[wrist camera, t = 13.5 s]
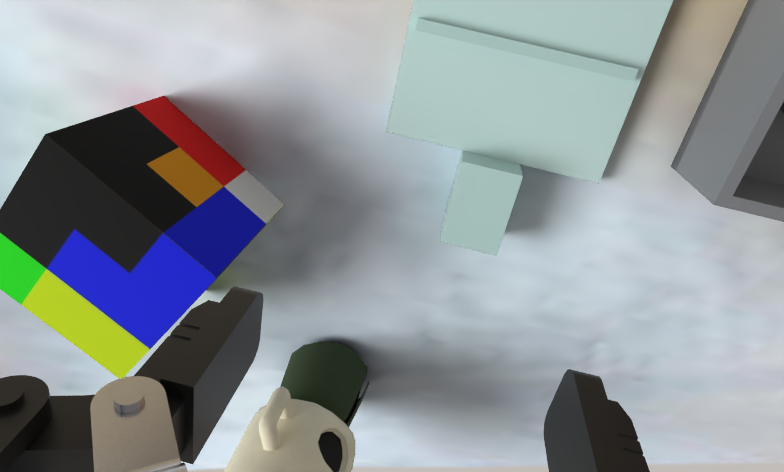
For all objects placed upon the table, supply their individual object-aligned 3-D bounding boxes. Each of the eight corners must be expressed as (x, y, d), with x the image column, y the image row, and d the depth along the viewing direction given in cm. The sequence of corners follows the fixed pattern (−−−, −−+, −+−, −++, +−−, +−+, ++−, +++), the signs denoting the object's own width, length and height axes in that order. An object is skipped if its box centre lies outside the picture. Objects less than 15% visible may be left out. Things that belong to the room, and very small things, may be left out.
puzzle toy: (284, 204, 35) (217, 278, 26) (204, 290, 39) (121, 379, 30) (164, 95, 33) (45, 134, 24) (92, 197, 37) (-33, 264, 28)
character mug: (383, 424, 41) (345, 594, 30) (298, 421, 43) (230, 582, 31) (368, 308, 37) (317, 454, 25) (273, 308, 38) (183, 446, 27)
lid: (471, -276, 23) (470, -315, 20) (754, -219, 23) (794, -250, 20) (373, 203, 33) (363, 222, 31) (565, 251, 33) (574, 275, 30)
